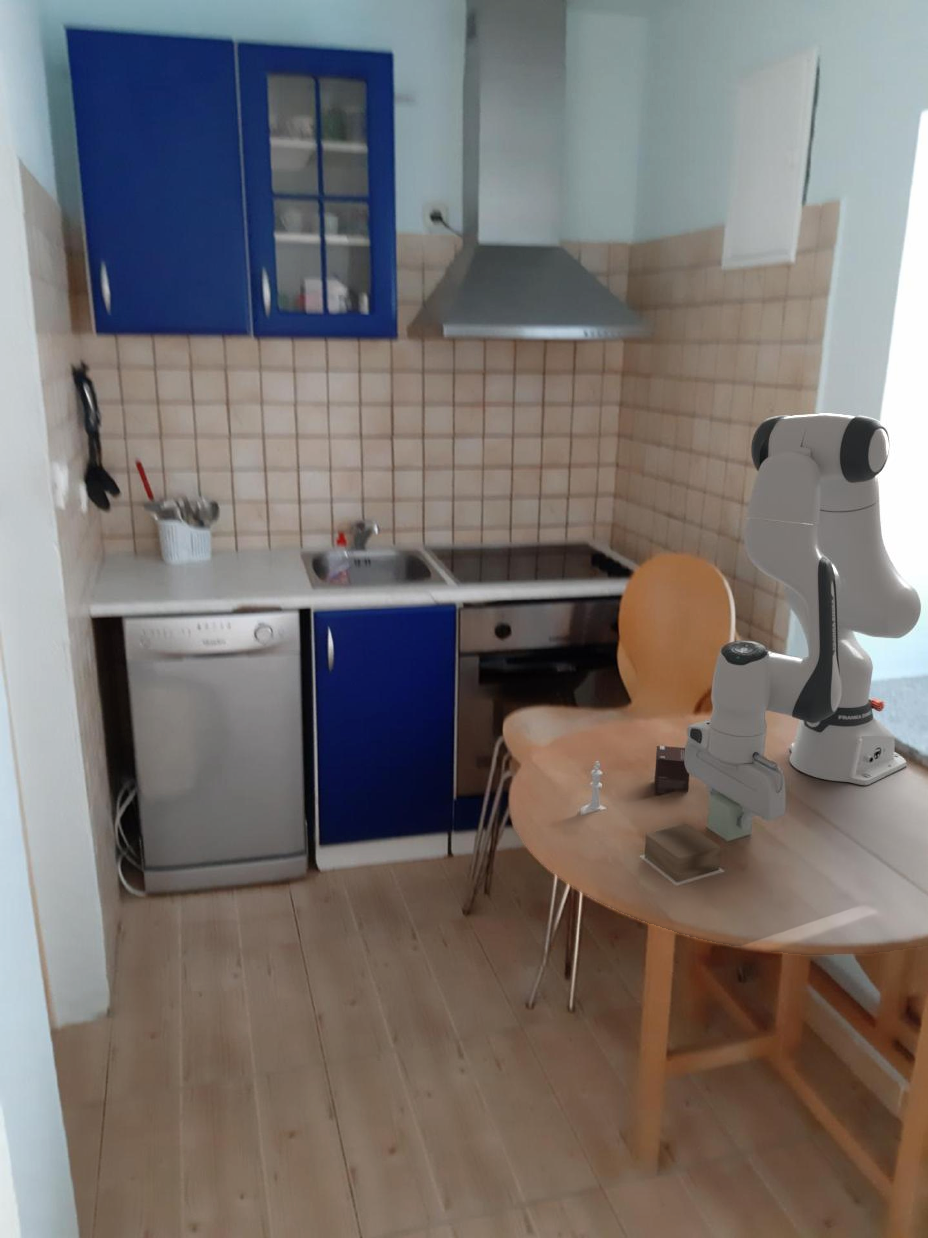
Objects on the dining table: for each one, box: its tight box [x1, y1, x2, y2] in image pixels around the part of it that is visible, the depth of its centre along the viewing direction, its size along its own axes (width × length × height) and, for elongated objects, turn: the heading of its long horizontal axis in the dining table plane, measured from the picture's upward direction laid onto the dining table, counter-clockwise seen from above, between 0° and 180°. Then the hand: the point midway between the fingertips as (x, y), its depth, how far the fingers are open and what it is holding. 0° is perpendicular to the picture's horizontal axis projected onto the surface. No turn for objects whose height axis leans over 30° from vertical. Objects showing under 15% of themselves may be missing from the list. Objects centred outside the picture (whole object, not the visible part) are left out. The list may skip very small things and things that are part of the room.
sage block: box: [706, 792, 753, 842], centre depth 156 cm, size 5×5×6 cm
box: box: [653, 745, 690, 796], centre depth 173 cm, size 6×6×7 cm
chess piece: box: [579, 760, 607, 816], centre depth 163 cm, size 5×5×10 cm
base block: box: [644, 823, 722, 882], centre depth 146 cm, size 8×8×4 cm
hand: (729, 819), depth 156 cm, fingers closed on sage block, 5 cm apart
